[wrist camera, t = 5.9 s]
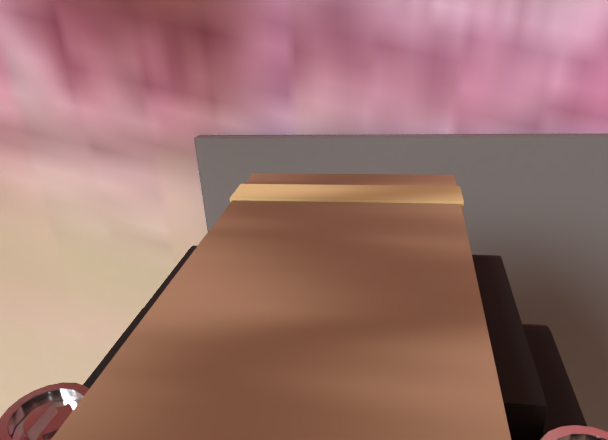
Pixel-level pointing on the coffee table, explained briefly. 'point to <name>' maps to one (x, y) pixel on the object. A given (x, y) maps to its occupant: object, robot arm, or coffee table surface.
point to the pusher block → (312, 324)
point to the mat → (480, 217)
